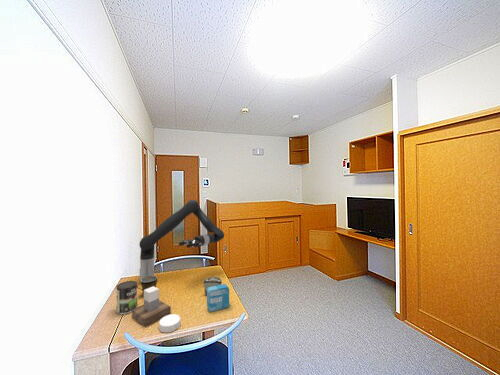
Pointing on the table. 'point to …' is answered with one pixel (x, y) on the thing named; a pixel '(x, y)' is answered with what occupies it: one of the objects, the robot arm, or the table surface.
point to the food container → (211, 283)
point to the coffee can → (126, 297)
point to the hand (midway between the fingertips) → (183, 245)
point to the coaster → (169, 323)
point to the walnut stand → (150, 314)
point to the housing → (151, 299)
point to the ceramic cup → (148, 282)
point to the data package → (217, 297)
